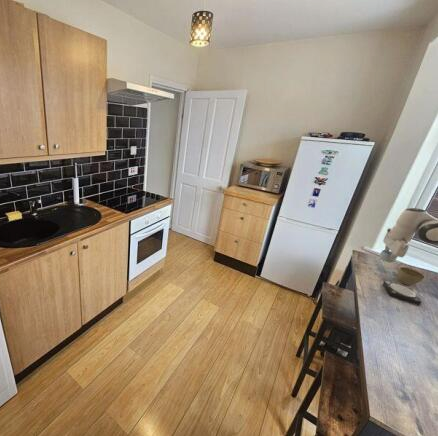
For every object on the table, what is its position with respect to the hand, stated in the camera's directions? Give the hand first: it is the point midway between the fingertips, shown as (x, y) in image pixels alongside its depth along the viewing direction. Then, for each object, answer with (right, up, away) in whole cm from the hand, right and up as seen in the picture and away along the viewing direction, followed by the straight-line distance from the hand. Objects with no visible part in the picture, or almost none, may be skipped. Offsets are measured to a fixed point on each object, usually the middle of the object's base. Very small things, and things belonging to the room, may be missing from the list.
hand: (388, 255), depth 135 cm
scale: (-11, -17, -16) cm, 26 cm away
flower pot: (+3, -14, -6) cm, 16 cm away
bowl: (0, -2, +1) cm, 3 cm away
